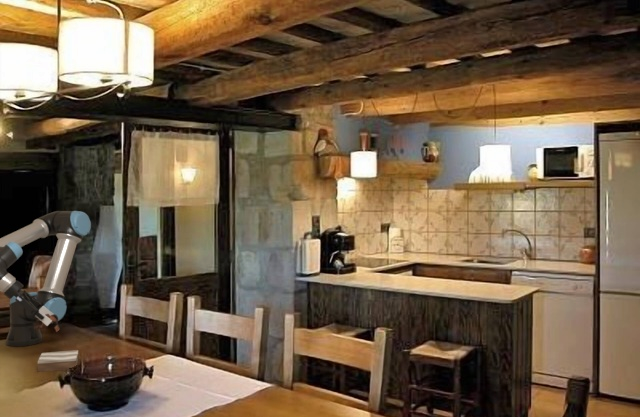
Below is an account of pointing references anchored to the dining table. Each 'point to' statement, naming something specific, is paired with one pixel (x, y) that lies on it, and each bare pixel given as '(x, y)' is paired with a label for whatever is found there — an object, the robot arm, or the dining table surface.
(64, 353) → the pale flat block
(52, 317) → the brown black arched figure
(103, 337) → the dining table surface
